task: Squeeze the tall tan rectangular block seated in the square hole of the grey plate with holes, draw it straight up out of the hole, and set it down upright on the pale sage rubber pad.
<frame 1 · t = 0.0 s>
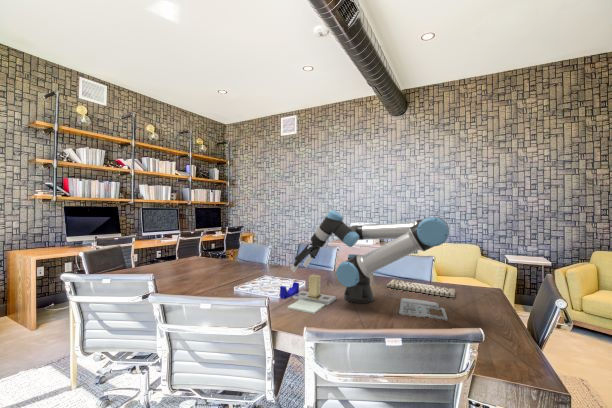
hand: (298, 268, 151), 15 cm above the table, tool tilted 35°, fingers open, 13 cm apart
tan rectangular block: (314, 299, 147), resting in grey plate with holes
grey flat slab: (421, 310, 135), on the table
mechanical keyboard: (419, 291, 167), on the table
cable clip: (288, 296, 153), on the table
grey plate with holes: (314, 298, 147), on the table
sage pad: (306, 307, 135), on the table
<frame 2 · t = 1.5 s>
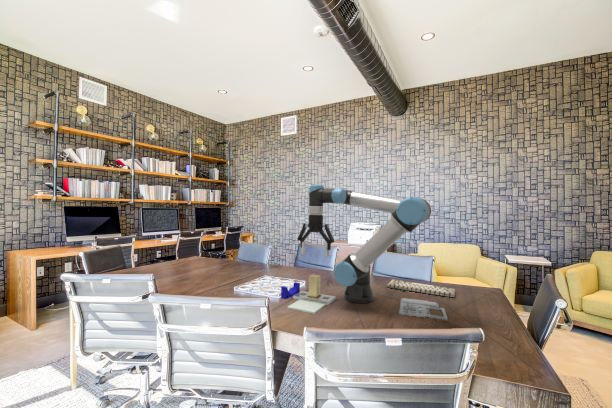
hand: (315, 255, 148), 23 cm above the table, tool pointing down, fingers open, 13 cm apart
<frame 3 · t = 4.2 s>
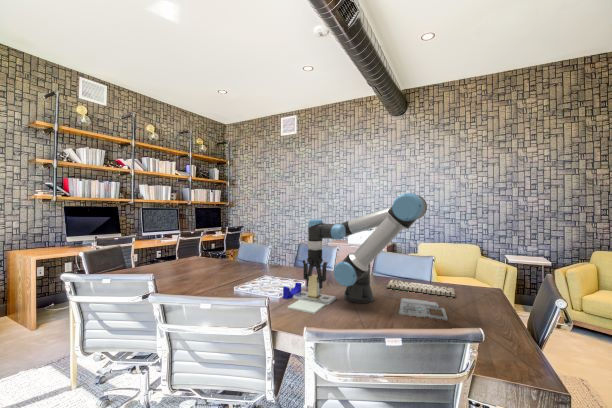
hand: (314, 293, 148), 3 cm above the table, tool pointing down, fingers closed on tan rectangular block, 4 cm apart
tan rectangular block: (314, 298, 147), resting in grey plate with holes, touching gripper
cable clip: (291, 296, 152), on the table
when the fingers open (5 cm above the table, at t = 11.4 s): tan rectangular block drops 1 cm, resting on sage pad.
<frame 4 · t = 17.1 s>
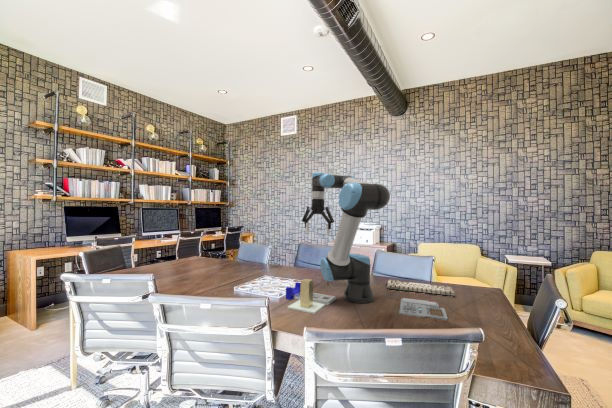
hand: (317, 234, 169), 32 cm above the table, tool pointing down, fingers open, 13 cm apart
tan rectangular block: (306, 305, 135), point 1 cm above the table, touching sage pad
at the end: tan rectangular block inside the target area on the sage pad (0.1 cm from its centre), point 0.8 cm above the sage pad's base; tan rectangular block tilted 0°; the gripper is holding nothing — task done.
